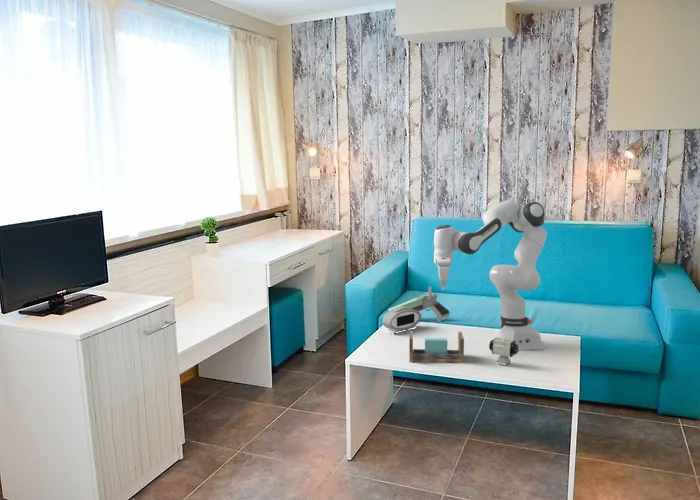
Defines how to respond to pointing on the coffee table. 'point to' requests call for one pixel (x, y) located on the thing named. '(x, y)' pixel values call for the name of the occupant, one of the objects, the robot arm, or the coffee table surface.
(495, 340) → the pneumatic valve
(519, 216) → the robot arm
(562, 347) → the coffee table surface
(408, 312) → the alarm clock
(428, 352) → the door panel
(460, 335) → the cabinet base
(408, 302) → the ray gun
